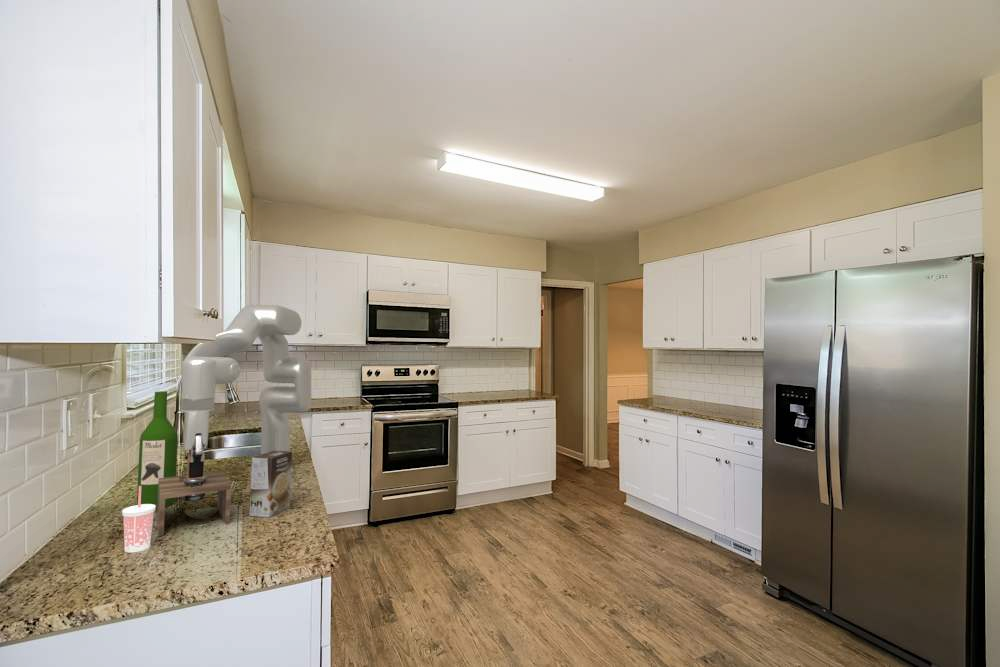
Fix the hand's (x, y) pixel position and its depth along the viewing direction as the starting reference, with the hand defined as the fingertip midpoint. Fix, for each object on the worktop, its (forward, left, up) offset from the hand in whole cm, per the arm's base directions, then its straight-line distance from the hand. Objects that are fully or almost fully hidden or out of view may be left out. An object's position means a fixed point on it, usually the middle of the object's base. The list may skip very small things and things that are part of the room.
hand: (195, 474), depth 124 cm
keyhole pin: (0, 0, -6) cm, 6 cm away
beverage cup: (+11, -11, -13) cm, 21 cm away
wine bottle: (-22, -7, -13) cm, 26 cm away
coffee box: (+2, +18, -13) cm, 22 cm away
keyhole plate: (-3, 0, -12) cm, 13 cm away
